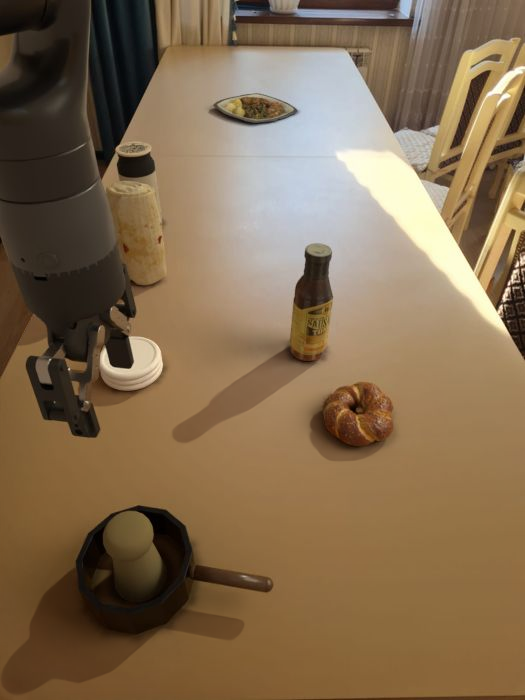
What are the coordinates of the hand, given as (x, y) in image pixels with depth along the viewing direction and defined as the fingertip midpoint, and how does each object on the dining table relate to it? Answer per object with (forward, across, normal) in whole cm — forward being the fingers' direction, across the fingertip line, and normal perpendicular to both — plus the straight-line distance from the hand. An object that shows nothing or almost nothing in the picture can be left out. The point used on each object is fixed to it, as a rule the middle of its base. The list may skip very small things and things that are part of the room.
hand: (106, 397), depth 49 cm
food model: (+26, -55, -19) cm, 64 cm away
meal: (+26, -159, -14) cm, 162 cm away
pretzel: (+26, -25, +25) cm, 44 cm away
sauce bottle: (+26, -39, +16) cm, 49 cm away
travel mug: (+26, -76, -26) cm, 84 cm away
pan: (+26, +4, +5) cm, 27 cm away
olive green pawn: (+26, +4, +1) cm, 26 cm away
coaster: (+26, -29, -12) cm, 41 cm away
